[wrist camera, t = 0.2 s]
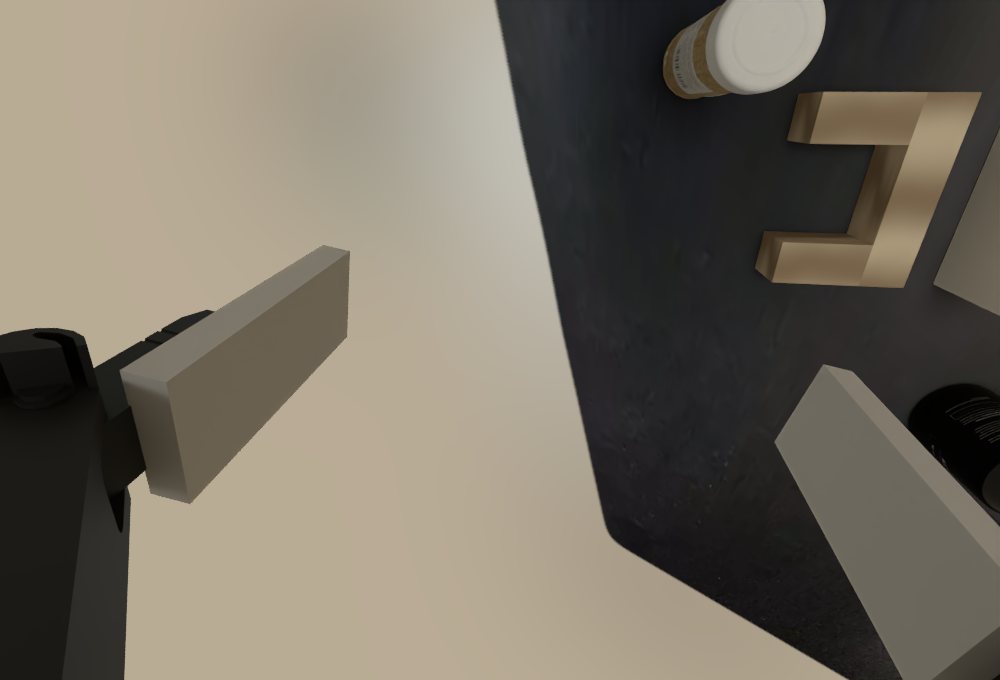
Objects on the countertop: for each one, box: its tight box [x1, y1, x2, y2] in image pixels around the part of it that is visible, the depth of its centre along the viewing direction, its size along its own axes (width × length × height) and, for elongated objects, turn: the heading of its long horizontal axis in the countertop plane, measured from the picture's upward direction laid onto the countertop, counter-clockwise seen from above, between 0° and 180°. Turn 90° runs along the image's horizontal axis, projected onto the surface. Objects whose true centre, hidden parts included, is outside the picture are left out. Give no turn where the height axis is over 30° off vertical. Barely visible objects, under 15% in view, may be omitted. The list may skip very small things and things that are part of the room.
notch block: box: [755, 92, 982, 288], centre depth 33 cm, size 12×9×4 cm
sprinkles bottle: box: [663, 0, 825, 99], centre depth 27 cm, size 5×5×13 cm
